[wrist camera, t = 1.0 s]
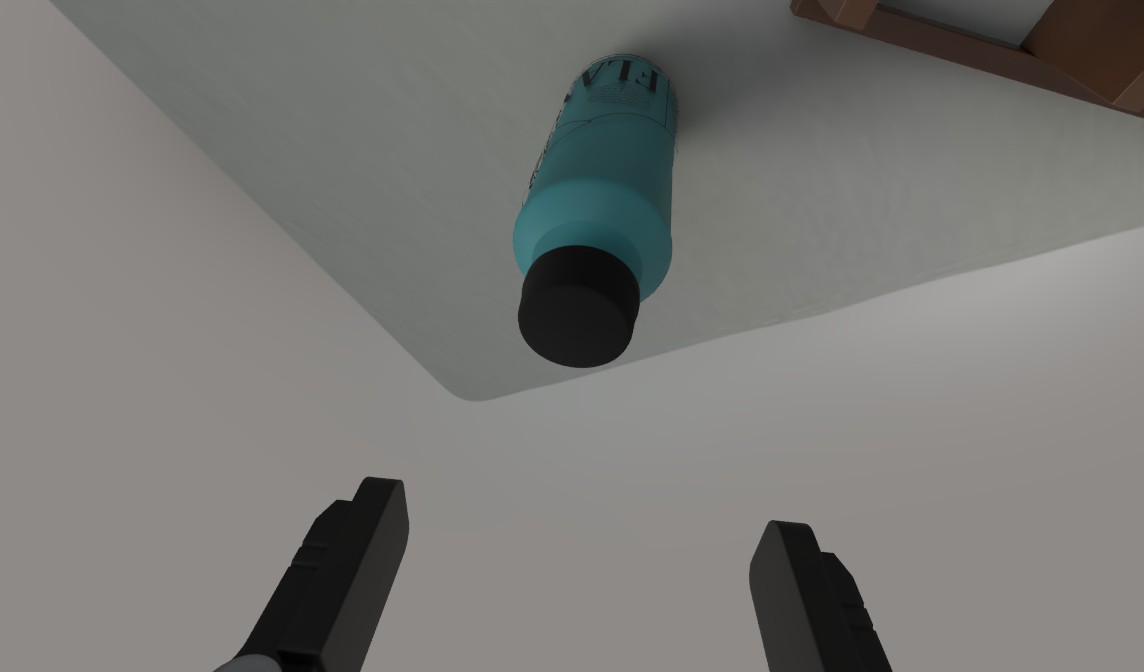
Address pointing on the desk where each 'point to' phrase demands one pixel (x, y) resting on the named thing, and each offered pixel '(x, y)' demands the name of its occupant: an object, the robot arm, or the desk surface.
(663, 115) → the beverage bottle
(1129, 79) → the rack
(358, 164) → the desk surface
